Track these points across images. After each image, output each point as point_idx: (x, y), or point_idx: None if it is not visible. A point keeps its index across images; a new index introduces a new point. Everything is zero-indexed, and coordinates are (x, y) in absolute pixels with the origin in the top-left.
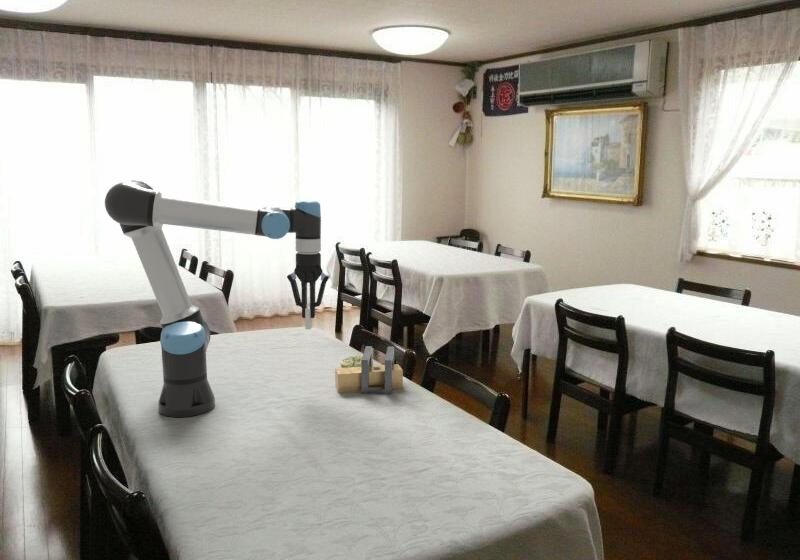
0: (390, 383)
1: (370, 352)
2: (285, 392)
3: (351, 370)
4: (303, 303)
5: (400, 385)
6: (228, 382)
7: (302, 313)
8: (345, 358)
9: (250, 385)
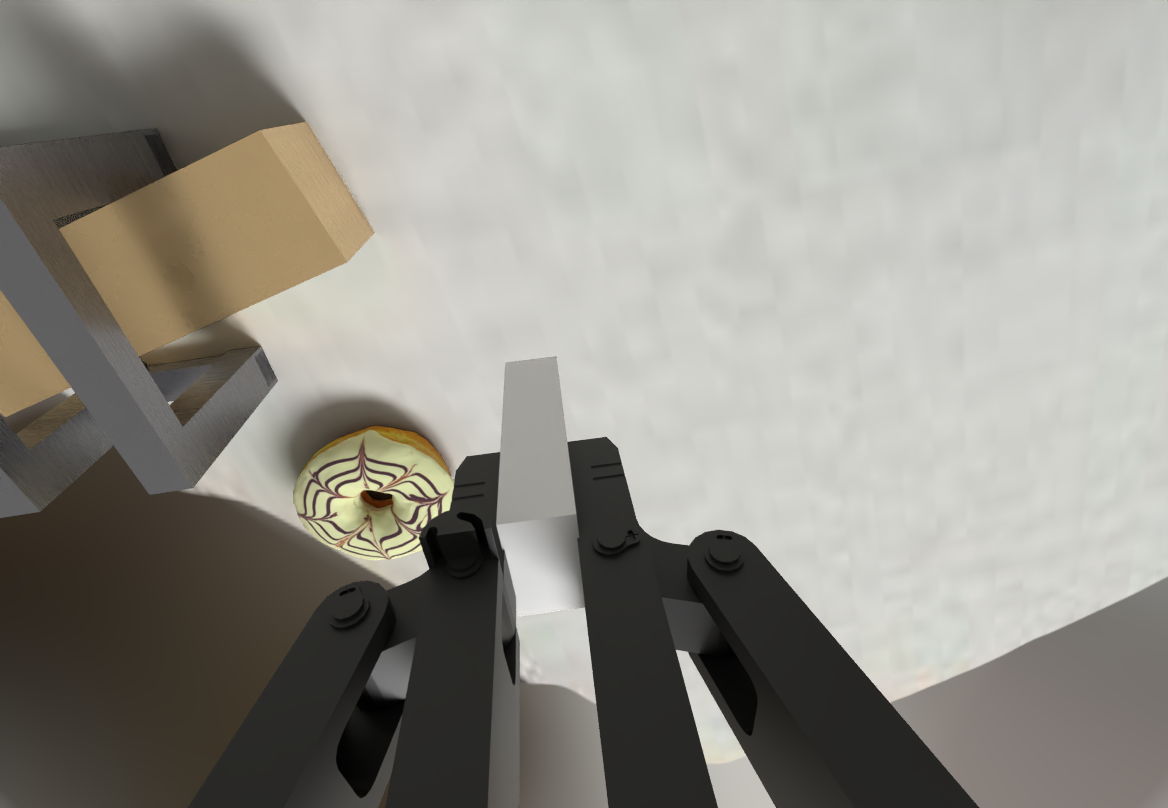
0: None
1: (70, 379)
2: (612, 68)
3: (215, 237)
4: (619, 580)
5: None
6: (940, 184)
7: (617, 473)
8: (434, 512)
9: (825, 157)
